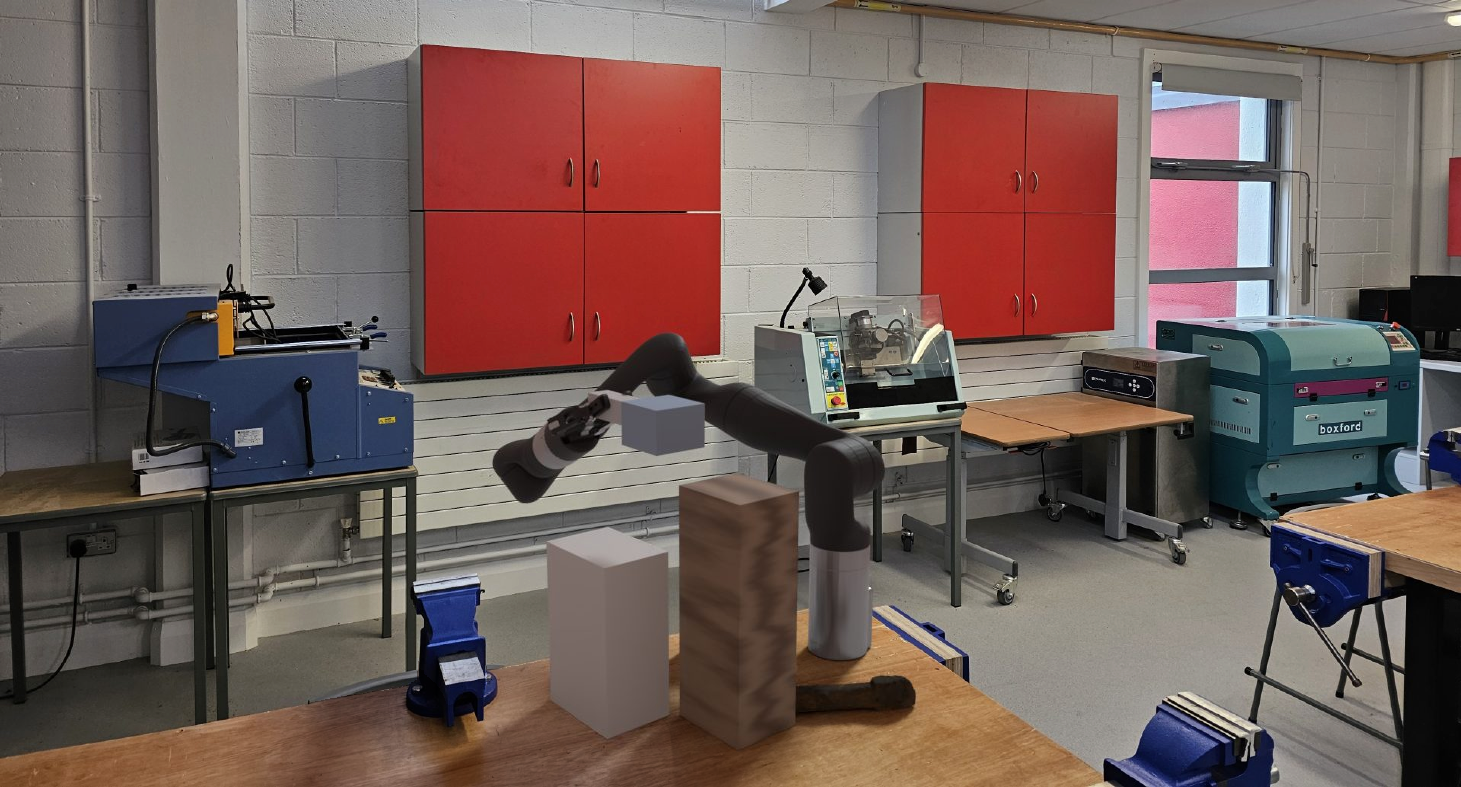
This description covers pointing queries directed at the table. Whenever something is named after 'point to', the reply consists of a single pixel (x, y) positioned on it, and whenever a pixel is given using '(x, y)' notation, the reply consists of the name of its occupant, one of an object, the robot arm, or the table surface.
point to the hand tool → (857, 695)
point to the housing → (656, 422)
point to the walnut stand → (738, 607)
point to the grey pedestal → (608, 629)
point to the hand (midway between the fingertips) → (618, 398)
